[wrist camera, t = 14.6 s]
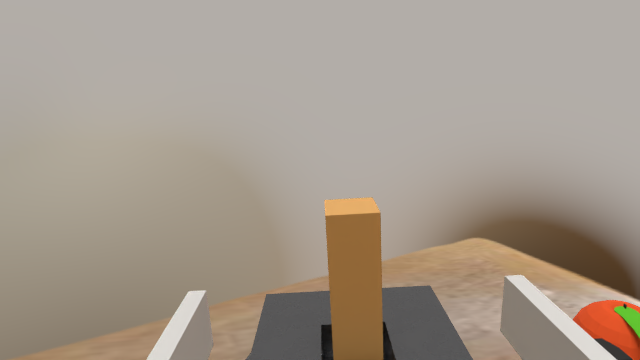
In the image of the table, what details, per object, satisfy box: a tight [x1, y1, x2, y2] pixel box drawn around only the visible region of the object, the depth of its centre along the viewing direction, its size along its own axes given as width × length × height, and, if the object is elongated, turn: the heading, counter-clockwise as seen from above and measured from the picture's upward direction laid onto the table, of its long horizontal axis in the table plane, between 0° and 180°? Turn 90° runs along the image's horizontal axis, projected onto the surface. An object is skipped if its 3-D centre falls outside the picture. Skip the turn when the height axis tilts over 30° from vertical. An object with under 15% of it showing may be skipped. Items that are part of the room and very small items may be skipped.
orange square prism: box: [325, 197, 383, 360], centre depth 30 cm, size 4×4×16 cm
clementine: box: [573, 300, 640, 360], centre depth 30 cm, size 8×7×7 cm
